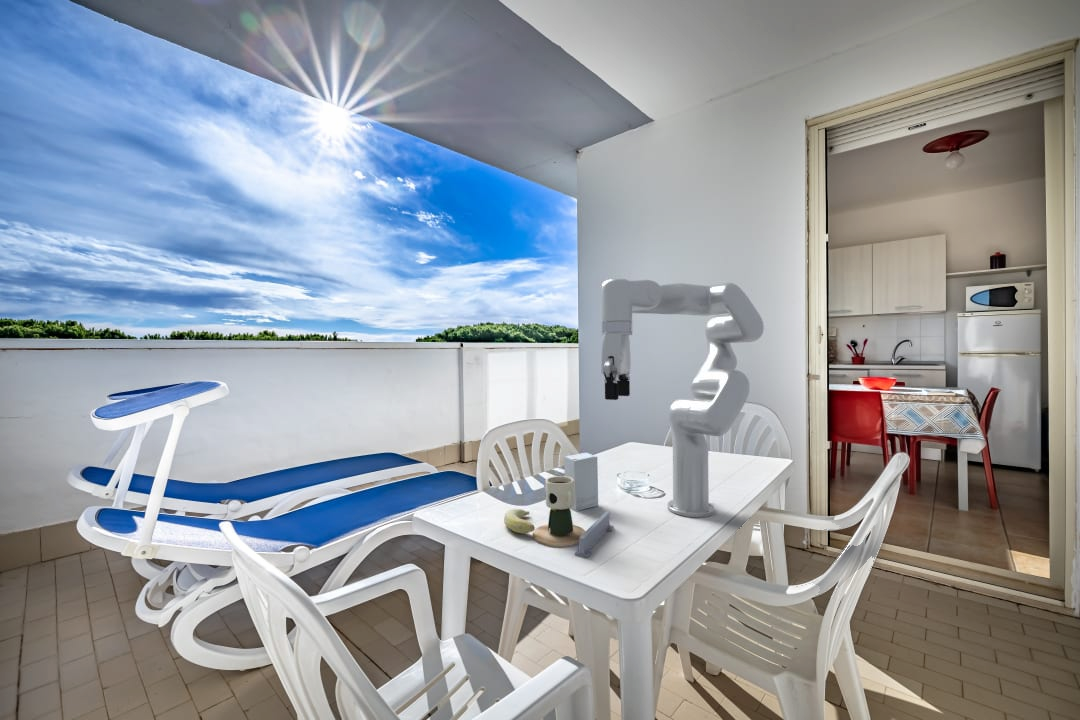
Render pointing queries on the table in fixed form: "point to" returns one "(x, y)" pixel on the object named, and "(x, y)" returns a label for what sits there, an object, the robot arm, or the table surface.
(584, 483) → the skincare box
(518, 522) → the fruit
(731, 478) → the table surface
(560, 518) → the character mug
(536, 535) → the coaster
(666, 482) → the table surface
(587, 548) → the grey cabinet handle
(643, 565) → the table surface
